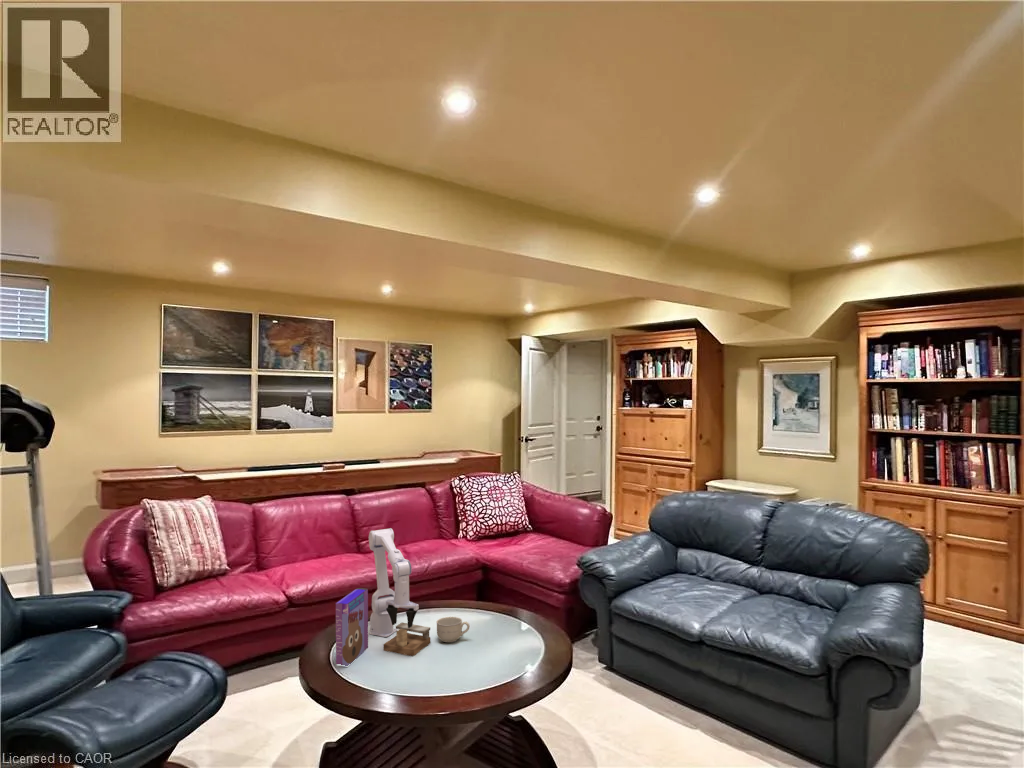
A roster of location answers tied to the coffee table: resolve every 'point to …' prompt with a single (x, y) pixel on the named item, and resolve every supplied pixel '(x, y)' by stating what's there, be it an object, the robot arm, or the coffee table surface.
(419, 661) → the coffee table surface
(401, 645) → the peg
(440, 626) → the teacup
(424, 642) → the socket block
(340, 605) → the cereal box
